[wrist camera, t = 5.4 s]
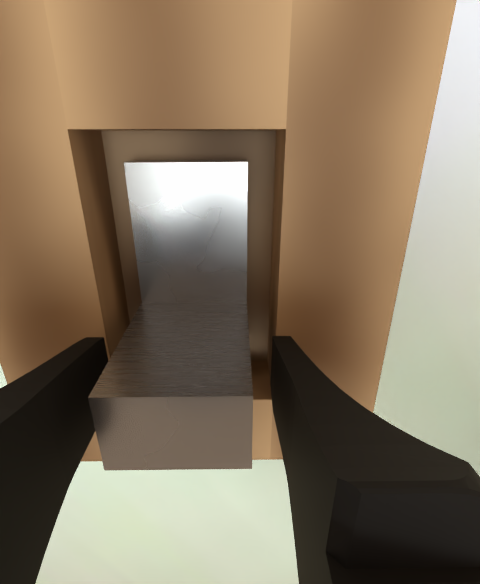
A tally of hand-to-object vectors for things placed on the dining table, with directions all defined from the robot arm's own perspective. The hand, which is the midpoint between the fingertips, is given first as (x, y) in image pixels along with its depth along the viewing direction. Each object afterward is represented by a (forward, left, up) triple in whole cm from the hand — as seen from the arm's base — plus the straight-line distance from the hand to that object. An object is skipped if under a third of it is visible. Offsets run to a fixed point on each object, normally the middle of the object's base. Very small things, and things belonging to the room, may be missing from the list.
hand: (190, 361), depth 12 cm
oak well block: (0, -2, -4) cm, 4 cm away
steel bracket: (0, -3, -3) cm, 4 cm away
